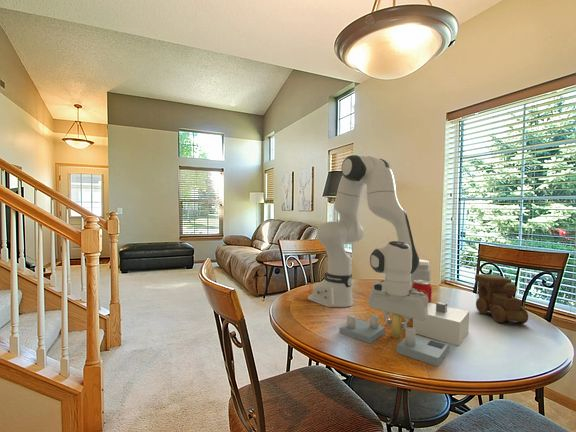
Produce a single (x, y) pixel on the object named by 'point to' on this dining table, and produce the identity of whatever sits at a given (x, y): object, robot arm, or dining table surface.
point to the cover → (444, 323)
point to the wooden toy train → (499, 299)
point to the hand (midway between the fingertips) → (396, 326)
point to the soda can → (423, 288)
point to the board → (362, 328)
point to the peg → (396, 325)
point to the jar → (421, 272)
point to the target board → (422, 348)
